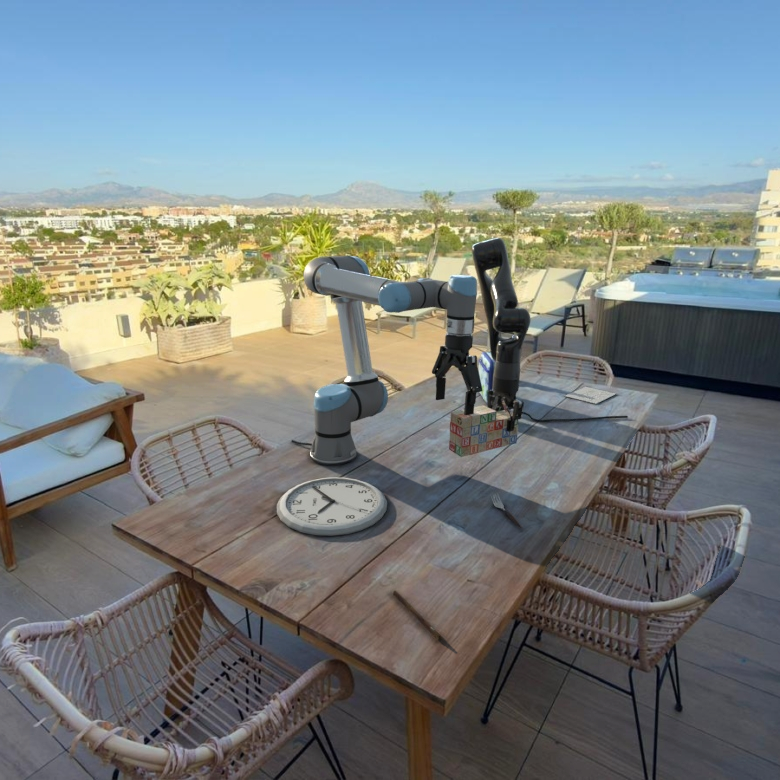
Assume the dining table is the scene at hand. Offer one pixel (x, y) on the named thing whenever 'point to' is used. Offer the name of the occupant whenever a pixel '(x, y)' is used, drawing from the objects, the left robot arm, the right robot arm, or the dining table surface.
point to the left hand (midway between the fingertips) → (453, 406)
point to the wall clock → (331, 506)
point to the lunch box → (486, 373)
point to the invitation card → (590, 395)
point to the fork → (500, 505)
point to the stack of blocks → (480, 431)
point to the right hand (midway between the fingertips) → (502, 427)
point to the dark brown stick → (416, 614)
